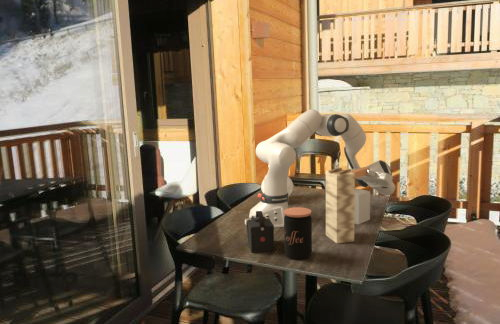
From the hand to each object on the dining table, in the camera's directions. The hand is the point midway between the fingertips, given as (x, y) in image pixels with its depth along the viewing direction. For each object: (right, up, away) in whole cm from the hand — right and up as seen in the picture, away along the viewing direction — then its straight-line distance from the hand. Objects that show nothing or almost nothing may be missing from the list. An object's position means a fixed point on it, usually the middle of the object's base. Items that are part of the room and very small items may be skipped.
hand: (363, 170), depth 220 cm
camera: (-50, -31, -31) cm, 67 cm away
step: (-4, -24, 0) cm, 24 cm away
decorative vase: (-40, -19, +34) cm, 55 cm away
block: (-5, -3, -4) cm, 7 cm away
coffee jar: (-36, -33, -41) cm, 64 cm away
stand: (-16, -29, -24) cm, 41 cm away
